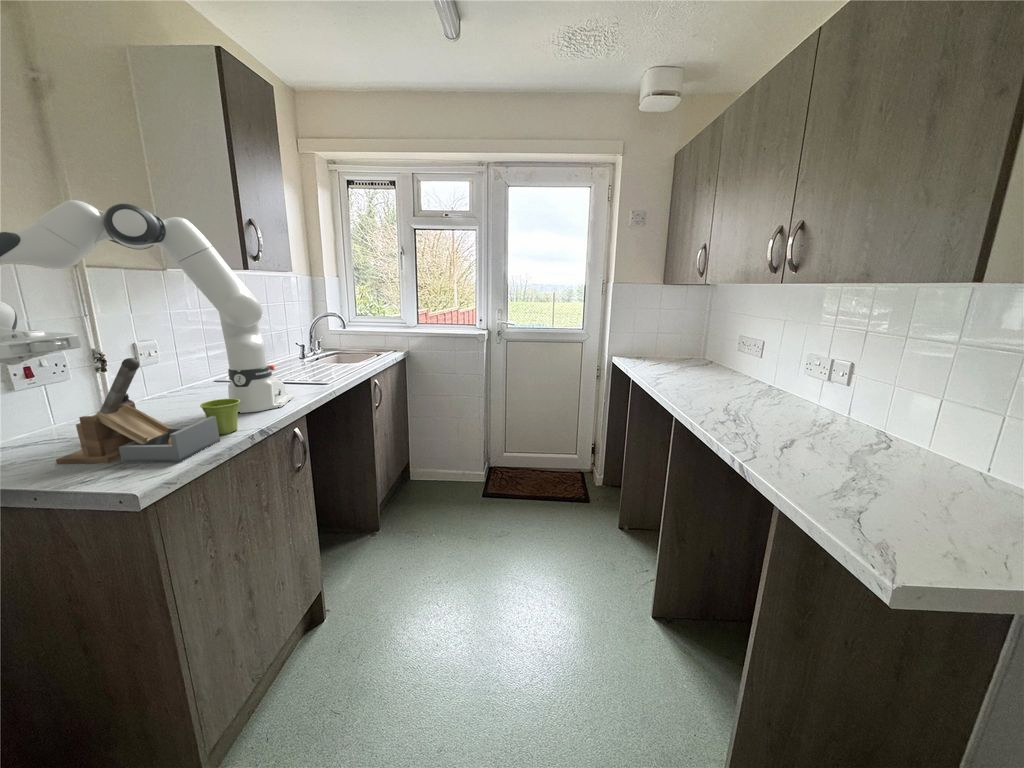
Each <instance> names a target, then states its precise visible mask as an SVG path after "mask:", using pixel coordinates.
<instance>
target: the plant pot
mask: <svg viewBox="0 0 1024 768" xmlns="http://www.w3.org/2000/svg"><path fill="white" fill-rule="evenodd" d="M239 403H240V400H239V399H229V398H220V399H213V400H208V401H204V402H201V403H200V404H199V407H200V408H201V409H202V411H203V412H204V414H205V417H206V418H209V417H211V416H216V421H217V427H218V433H219V435H227V434H232V433H234V432H235V431H238V406H239ZM233 431H234V432H233ZM231 432H232V433H231Z"/></svg>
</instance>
